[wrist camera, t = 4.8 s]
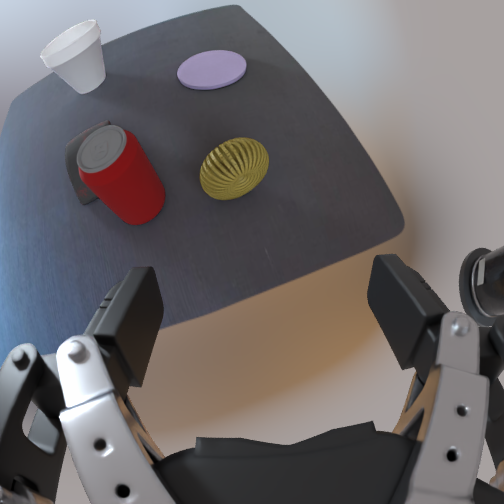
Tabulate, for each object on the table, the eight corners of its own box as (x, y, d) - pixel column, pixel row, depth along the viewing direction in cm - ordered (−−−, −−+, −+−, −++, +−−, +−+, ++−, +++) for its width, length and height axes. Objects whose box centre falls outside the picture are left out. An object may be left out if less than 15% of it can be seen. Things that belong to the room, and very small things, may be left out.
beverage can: (162, 172, 34) (129, 110, 22) (172, 216, 32) (135, 158, 21) (117, 190, 33) (72, 137, 22) (123, 235, 32) (69, 189, 20)
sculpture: (256, 162, 34) (256, 119, 26) (274, 184, 33) (278, 144, 25) (200, 191, 33) (186, 152, 25) (216, 216, 32) (204, 181, 24)
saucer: (245, 52, 42) (245, 48, 41) (247, 87, 38) (247, 83, 38) (182, 58, 42) (181, 54, 41) (173, 95, 39) (172, 91, 38)
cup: (117, 86, 41) (92, 32, 27) (63, 112, 40) (32, 67, 27) (118, 58, 44) (99, 12, 31) (71, 81, 43) (47, 40, 30)
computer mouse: (115, 122, 37) (105, 106, 34) (127, 184, 34) (115, 168, 30) (74, 145, 37) (63, 131, 33) (79, 209, 33) (64, 197, 29)
